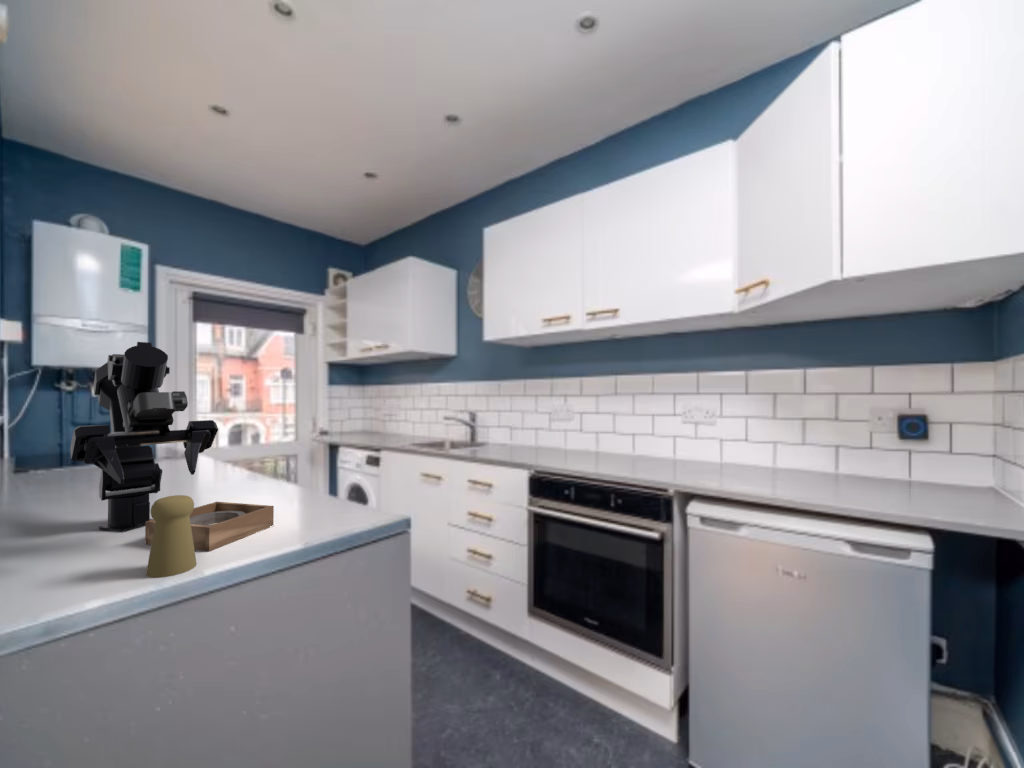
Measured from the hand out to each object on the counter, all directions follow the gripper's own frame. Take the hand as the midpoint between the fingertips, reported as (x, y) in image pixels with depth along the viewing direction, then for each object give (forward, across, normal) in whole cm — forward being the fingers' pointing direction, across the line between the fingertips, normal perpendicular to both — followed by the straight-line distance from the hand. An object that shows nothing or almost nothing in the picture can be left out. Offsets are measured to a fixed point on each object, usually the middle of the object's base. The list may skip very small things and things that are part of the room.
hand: (159, 477), depth 70 cm
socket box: (+5, +10, +13) cm, 17 cm away
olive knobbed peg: (+14, 0, +4) cm, 15 cm away
